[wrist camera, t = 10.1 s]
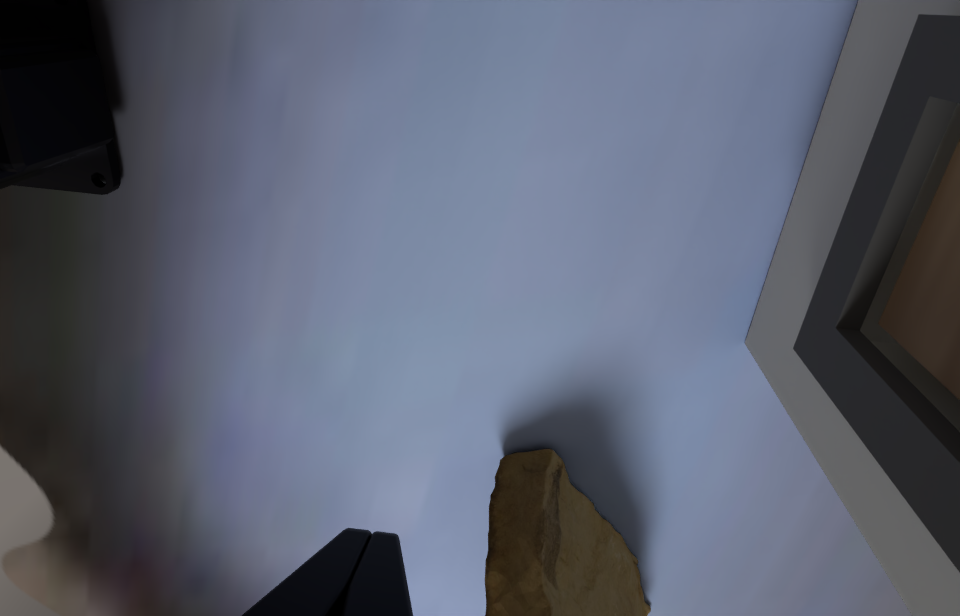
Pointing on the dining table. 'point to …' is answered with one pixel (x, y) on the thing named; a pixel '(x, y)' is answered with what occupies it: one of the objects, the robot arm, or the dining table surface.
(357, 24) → the dining table surface
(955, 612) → the off-white upright box
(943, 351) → the peg
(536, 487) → the rock
